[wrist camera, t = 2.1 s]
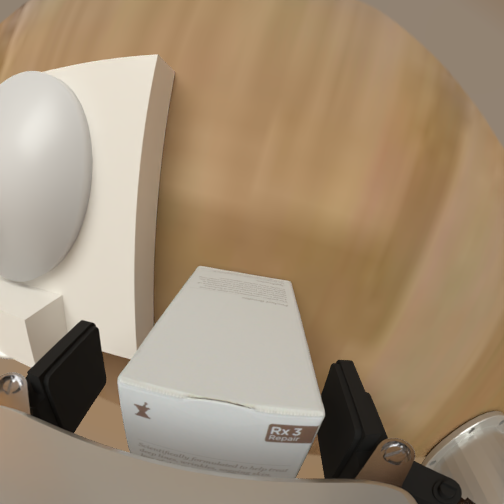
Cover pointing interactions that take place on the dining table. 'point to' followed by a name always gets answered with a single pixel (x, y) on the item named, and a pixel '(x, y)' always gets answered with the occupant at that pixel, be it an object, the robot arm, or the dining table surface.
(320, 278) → the dining table surface
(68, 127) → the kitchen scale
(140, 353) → the skincare box
